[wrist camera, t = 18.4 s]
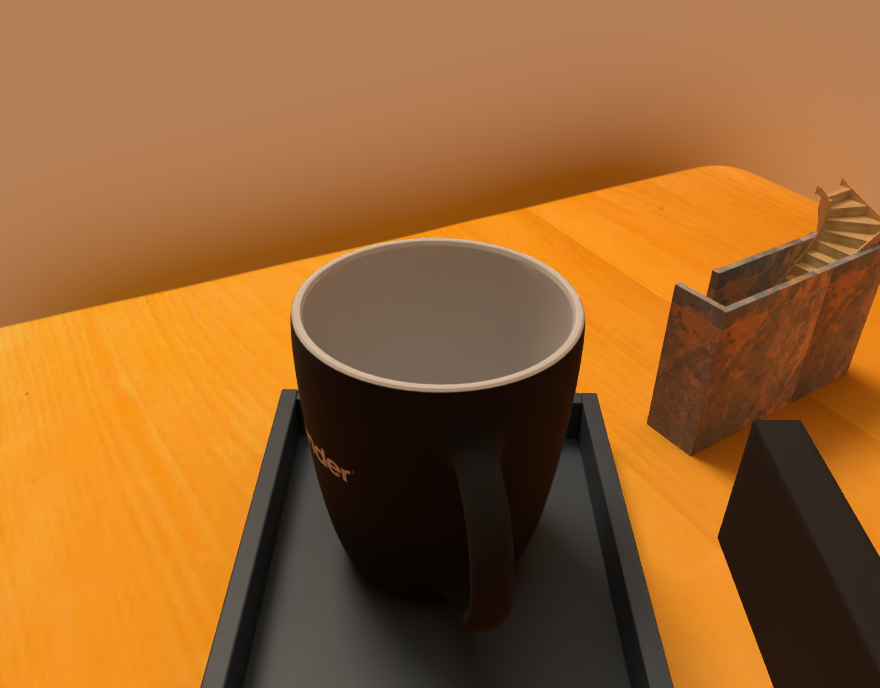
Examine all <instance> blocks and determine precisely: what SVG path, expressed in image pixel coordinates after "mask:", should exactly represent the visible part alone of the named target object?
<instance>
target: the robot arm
mask: <svg viewBox="0 0 880 688" xmlns="http://www.w3.org/2000/svg"><path fill="white" fill-rule="evenodd" d="M718 540H719V543H720V545H721V548H722V551H723V553H724V556H725V559H726V561H727V564H728V567H729V569H730V572H731V575H732V577H733V580H734V583H735V585H736V588H737V591H738V593H739V596H740V599H741V601H742V604H743V607H744V609H745V612H746V615H747V617H748V620H749V623H750V625H751V628H752V631H753V633H754V636H755V639H756V641H757V644H758V647H759V649H760V652H761V655H762V657H763V660H764V663H765V665H766V668H767V671H768V673H769V676H770V679H771V681H772V684H773V687H774V688H880V557H879V555H878V553H877V551H876V550H875V548H874V546H873V545H872V543H871V541H870V539H869V538H868V536H867V534H866V532H865V531H864V529H863V527H862V526H861V524H860V522H859V520H858V519H857V517H856V515H855V513H854V512H853V510H852V508H851V507H850V505H849V503H848V501H847V500H846V498H845V496H844V494H843V493H842V491H841V489H840V488H839V486H838V484H837V482H836V481H835V479H834V477H833V475H832V474H831V472H830V470H829V469H828V467H827V465H826V463H825V462H824V460H823V458H822V456H821V455H820V453H819V451H818V450H817V448H816V446H815V444H814V443H813V441H812V439H811V437H810V436H809V434H808V432H807V431H806V429H805V427H804V425H803V424H802V422H801V421H799V420H754V421H753V424H752V427H751V430H750V434H749V437H748V440H747V443H746V447H745V450H744V453H743V456H742V460H741V463H740V466H739V469H738V473H737V476H736V479H735V482H734V486H733V489H732V492H731V495H730V499H729V502H728V505H727V509H726V512H725V515H724V518H723V522H722V525H721V528H720V531H719V535H718Z"/></svg>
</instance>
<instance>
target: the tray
mask: <svg viewBox="0 0 880 688" xmlns="http://www.w3.org/2000/svg"><path fill="white" fill-rule="evenodd" d="M200 688H673V684H672V680H671V676H670V672H669V669H668V665H667V661H666V657H665V653H664V650H663V646H662V642H661V638H660V634H659V630H658V627H657V623H656V619H655V615H654V611H653V608H652V604H651V600H650V596H649V592H648V588H647V585H646V581H645V577H644V573H643V569H642V566H641V562H640V558H639V554H638V550H637V546H636V543H635V539H634V535H633V531H632V527H631V524H630V520H629V516H628V512H627V508H626V504H625V501H624V497H623V493H622V489H621V485H620V482H619V478H618V474H617V470H616V466H615V462H614V459H613V455H612V451H611V447H610V443H609V440H608V436H607V432H606V428H605V424H604V420H603V417H602V413H601V409H600V405H599V401H598V398H597V394H596V393H581V394H580V393H575V396H574V401H573V406H572V410H571V415H570V419H569V423H568V428H567V432H566V436H565V440H564V444H563V448H562V452H561V455H560V459H559V463H558V466H557V470H556V473H555V477H554V480H553V483H552V486H551V489H550V492H549V495H548V498H547V501H546V504H545V507H544V510H543V513H542V515H541V518H540V520H539V523H538V525H537V527H536V530H535V532H534V534H533V536H532V538H531V540H530V542H529V544H528V546H527V548H526V549H525V551H524V552H523V554H522V555H521V557H520V558H519V560H518V561H517V562H516V563H515V564H514V594H513V602H512V607H511V610H510V613H509V615H508V617H507V618H506V620H505V621H504V622H503V623H502V624H500V625H499V626H497V627H496V628H494V629H491V630H488V631H473V630H468V629H467V628H465V627H464V626H462V625H461V624H460V623H459V621H458V620H457V618H456V616H455V614H454V612H453V609H452V607H451V605H450V603H449V601H422V600H415V599H410V598H406V597H403V596H400V595H397V594H394V593H392V592H390V591H388V590H386V589H384V588H382V587H381V586H379V585H377V584H376V583H374V582H373V581H372V580H370V579H369V578H368V577H367V576H366V575H365V574H364V573H363V572H362V571H361V570H360V569H359V568H358V567H357V566H356V565H355V563H354V562H353V561H352V560H351V558H350V557H349V556H348V554H347V553H346V551H345V549H344V548H343V546H342V544H341V542H340V540H339V538H338V536H337V534H336V532H335V529H334V527H333V524H332V522H331V519H330V516H329V513H328V511H327V508H326V505H325V502H324V499H323V495H322V492H321V489H320V485H319V482H318V478H317V475H316V471H315V467H314V463H313V459H312V454H311V450H310V445H309V441H308V436H307V432H306V427H305V422H304V417H303V412H302V406H301V401H300V396H299V390H295V389H283V390H282V392H281V396H280V399H279V403H278V407H277V410H276V414H275V418H274V421H273V425H272V428H271V432H270V436H269V439H268V443H267V447H266V450H265V454H264V458H263V461H262V465H261V469H260V472H259V476H258V480H257V483H256V487H255V490H254V494H253V498H252V501H251V505H250V509H249V512H248V516H247V520H246V523H245V527H244V531H243V534H242V538H241V542H240V545H239V549H238V552H237V556H236V560H235V563H234V567H233V571H232V574H231V578H230V582H229V585H228V589H227V593H226V596H225V600H224V604H223V607H222V611H221V614H220V618H219V622H218V625H217V629H216V633H215V636H214V640H213V644H212V647H211V651H210V655H209V658H208V662H207V666H206V669H205V673H204V676H203V680H202V684H201V687H200Z"/></svg>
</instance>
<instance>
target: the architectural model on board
mask: <svg viewBox="0 0 880 688" xmlns="http://www.w3.org/2000/svg"><path fill="white" fill-rule="evenodd" d="M840 185H842V186H844V188H841V189H838V190H835V191H832V192H829V193H826V192H825V191H824V189H823V188H822V187H819V186H817V189H816V192H815V193H816V194H818V195H820V196H821V201H820V204H819V207H818V226H817V232H816V233H815V232H812V233H810V234H809V235H806V236H804V237H801V238H798V239H796V240H793V241H791V242H788V243H785V244H783V245H780V246H777V247H775V248H772V249H769V250H767V251H764V252H762V253H759V254H756V255H754V256H751V257H748V258H746V259H743V260H740V261H738V262H735V263H733V264H730V265H727V266H725V267H722V268H719V269H718V268H717V269H714V270H712V275H711V279H710V283H709V288H708V292H707V296H705V295H703V294H701V293H699V292H697V291H696V290H694V289H692V288H690V287H688V286H686V285H685V284H683V283H681V282H680V283H677V284H675V288H674V293H673V298H672V303H671V308H670V313H669V318H668V323H667V327H666V332H665V337H664V342H663V347H662V352H661V357H660V362H659V367H658V372H657V376H656V381H655V386H654V391H653V396H652V401H651V406H650V411H649V416H648V418H647V419H648V421H647V424H648V425H649V426H650V427H652V428H653V429H655V430H656V431H657V432H659V433H660V434H661V435H663V436H664V437H665V438H667V439H668V440H669V441H671V442H672V443H674V444H675V445H676V446H678V447H679V448H680V449H682V450H683V451H684V452H686V453H687V454H689V455H690V456H692V455H693V454H695V453H697V452H699V451H701V450H703V449H705V448H707V447H709V446H710V445H712V444H714V443H716V442H718V441H720V440H722V439H724V438H726V437H727V436H729V435H731V434H733V433H735V432H737V431H739V430H741V429H743V428H745V427H746V426H748V425H750V424H752V423H753V421H754V420H760V419H762V418H763V417H765V416H767V415H769V414H771V413H773V412H775V411H777V410H779V409H780V408H782V407H784V406H786V405H788V404H790V403H792V402H794V401H796V400H797V399H799V398H801V397H803V396H805V395H807V394H809V393H811V392H813V391H815V390H816V389H818V388H820V387H822V386H824V385H826V384H828V383H830V382H832V381H833V380H835V379H837V378H839V377H841V376H843V375H845V374H847V371H848V368H849V365H850V363H851V360H852V357H853V355H854V352H855V349H856V346H857V344H858V341H859V338H860V335H861V333H862V330H863V327H864V324H865V322H866V319H867V316H868V314H869V311H870V308H871V305H872V303H873V300H874V297H875V294H876V292H877V289H878V286H879V283H880V214H878V213H877V212H876V211H875V210H874V209H873V208H872V207H870V206H869V204H868V203H867V202H866V201H865V200H864V199H863V198H862V197H861V196H860V195H859V194H858V193H857V192H856V191H855V190H854V189H853V188H852V187H851V186H850V185H849V184H848V183H847V182H846V180H845V179H844V178H842V181H841V184H840Z"/></svg>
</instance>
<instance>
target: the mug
mask: <svg viewBox="0 0 880 688" xmlns="http://www.w3.org/2000/svg"><path fill="white" fill-rule="evenodd" d="M584 333H585V313H584V308H583V304H582V302H581V299H580V297H579V296H578V294H577V292H576V291H575V290H574V288H573V287H572V286H571V284H570V283H569V282H568V281H567V280H566V279H565V278H564V277H563V276H561V275H560V274H559V273H558V272H556V271H555V270H554V269H552V268H551V267H549V266H548V265H546V264H544V263H542V262H541V261H539V260H537V259H535V258H533V257H530V256H528V255H526V254H523V253H521V252H518V251H515V250H512V249H509V248H505V247H502V246H498V245H494V244H489V243H484V242H478V241H472V240H464V239H452V238H418V239H406V240H398V241H391V242H385V243H380V244H376V245H372V246H368V247H364V248H361V249H358V250H355V251H352V252H350V253H347V254H345V255H343V256H340V257H338V258H336V259H334V260H332V261H331V262H329V263H327V264H325V265H324V266H322V267H321V268H320V269H318V270H317V271H316V272H314V273H313V274H312V275H311V276H310V277H309V278H308V279H307V280H306V281H305V282H304V283H303V285H302V286H301V287H300V289H299V290H298V292H297V294H296V295H295V298H294V301H293V303H292V309H291V339H292V349H293V357H294V364H295V371H296V378H297V384H298V390H299V396H300V401H301V406H302V412H303V417H304V422H305V427H306V432H307V436H308V441H309V445H310V450H311V454H312V459H313V463H314V467H315V471H316V475H317V478H318V482H319V485H320V489H321V492H322V495H323V499H324V502H325V505H326V508H327V511H328V513H329V516H330V519H331V522H332V524H333V527H334V529H335V532H336V534H337V536H338V538H339V540H340V542H341V544H342V546H343V548H344V549H345V551H346V553H347V554H348V556H349V557H350V558H351V560H352V561H353V562H354V563H355V565H356V566H357V567H358V568H359V569H360V570H361V571H362V572H363V573H364V574H365V575H366V576H367V577H368V578H369V579H370V580H372V581H373V582H374V583H376V584H377V585H379V586H381V587H382V588H384V589H386V590H388V591H390V592H392V593H394V594H397V595H400V596H403V597H406V598H410V599H415V600H422V601H449V603H450V605H451V607H452V609H453V612H454V614H455V616H456V618H457V620H458V621H459V623H460V624H461V625H462V626H464V627H465V628H467V629H468V630H473V631H488V630H491V629H494V628H496V627H497V626H499V625H500V624H502V623H503V622H504V621H505V620H506V618H507V617H508V615H509V613H510V610H511V607H512V602H513V594H514V564H515V563H516V562H517V561H518V560H519V558H520V557H521V555H522V554H523V552H524V551H525V549H526V548H527V546H528V544H529V542H530V540H531V538H532V536H533V534H534V532H535V530H536V527H537V525H538V523H539V520H540V518H541V515H542V513H543V510H544V507H545V504H546V501H547V498H548V495H549V492H550V489H551V486H552V483H553V480H554V477H555V473H556V470H557V466H558V463H559V459H560V455H561V452H562V448H563V444H564V440H565V436H566V432H567V428H568V423H569V419H570V415H571V410H572V406H573V401H574V396H575V391H576V386H577V380H578V375H579V369H580V363H581V357H582V350H583V343H584Z"/></svg>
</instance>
